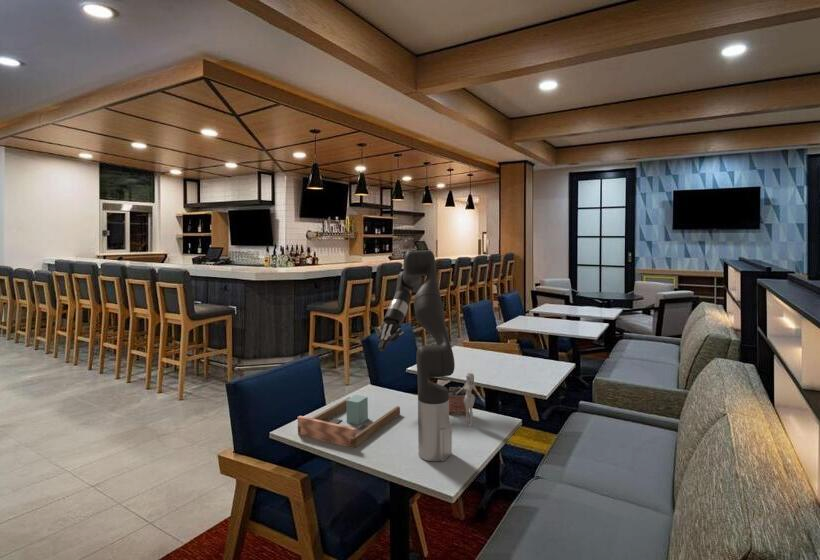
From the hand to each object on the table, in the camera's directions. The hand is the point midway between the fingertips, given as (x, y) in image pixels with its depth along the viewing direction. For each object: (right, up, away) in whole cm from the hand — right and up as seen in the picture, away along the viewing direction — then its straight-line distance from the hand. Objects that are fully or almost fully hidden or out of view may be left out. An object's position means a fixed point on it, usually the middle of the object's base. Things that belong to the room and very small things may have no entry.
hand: (381, 349), depth 178 cm
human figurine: (+32, -23, -18) cm, 43 cm away
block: (-8, -23, -13) cm, 27 cm away
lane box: (-9, -24, -16) cm, 30 cm away
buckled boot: (+29, -22, -8) cm, 37 cm away
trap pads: (-11, -24, -19) cm, 32 cm away
